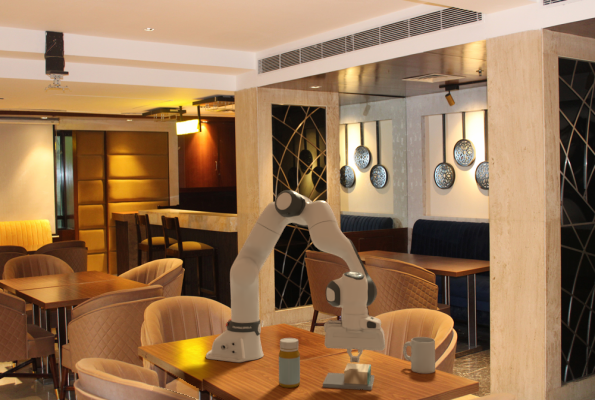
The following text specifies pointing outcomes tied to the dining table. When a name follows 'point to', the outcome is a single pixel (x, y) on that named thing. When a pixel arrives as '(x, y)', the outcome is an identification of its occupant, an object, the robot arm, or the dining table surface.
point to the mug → (421, 354)
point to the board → (338, 382)
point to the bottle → (289, 363)
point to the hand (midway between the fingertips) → (354, 362)
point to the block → (357, 373)
